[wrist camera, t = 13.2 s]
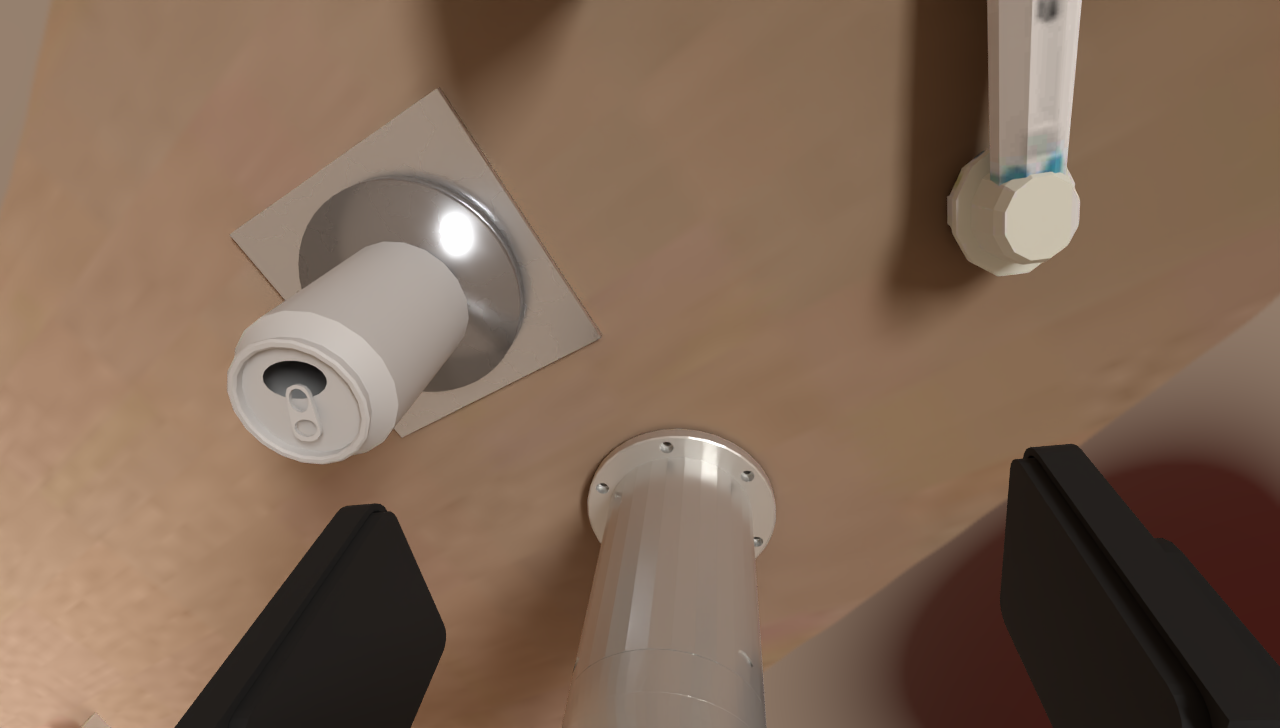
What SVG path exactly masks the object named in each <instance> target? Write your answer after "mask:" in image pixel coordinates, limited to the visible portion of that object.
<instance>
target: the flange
mask: <svg viewBox="0 0 1280 728" xmlns="http://www.w3.org/2000/svg"><path fill="white" fill-rule="evenodd" d="M230 236H231V237H232V238H233V239H234V241H235V242H236V243H237V244H238V245H239V247H240V248H241V249H242V250H243V251H244V252H245V254H246V255H247V256H248V257H249V258H250V259H251V261H252V262H253V263H254V264H255V265H256V267H257V268H258V269H259V270H260V271H261V272H262V274H263V275H264V276H265V277H266V278H267V280H268V281H269V282H270V283H271V284H272V285H273V287H274V288H275V289H276V290H277V291H278V292H279V294H280V295H281V296H282V297H283V298H284V300H285V301H286V300H287V299H288V298H290V297H291V296H293V295H294V294H296V293H297V292H299V291H300V290H302V289H303V288H305V287H306V286H308V285H309V284H311V283H312V282H314V281H315V280H317V279H318V278H320V277H321V276H323V275H324V274H326V273H327V272H329V271H330V270H331V269H333V268H334V267H336V266H337V265H339V264H340V263H342V262H343V261H345V260H346V259H348V258H349V257H351V256H352V255H354V254H355V253H357V252H358V251H360V250H361V249H363V248H364V247H366V246H370V245H373V244H377V243H380V242H403V243H407V244H410V245H413V246H415V247H418V248H421V249H424V250H426V251H427V252H429V253H430V254H432V255H433V256H434V257H436V258H437V259H439V260H440V261H442V262H443V263H444V264H445V265H446V266H447V268H448V269H449V270H450V271H451V272H452V274H453V275H454V276H455V277H456V278H457V280H458V281H459V284H460V286H461V288H462V290H463V292H464V295H465V297H466V299H467V308H468V316H469V319H468V324H467V328H466V332H465V336H464V337H463V339H462V340H461V342H460V343H459V345H458V346H457V348H456V349H455V350H454V352H453V353H452V354H451V355H450V357H449V358H448V359H447V361H446V362H445V363H444V364H443V366H442V367H441V368H440V370H439V371H438V372H437V374H436V375H435V376H434V377H433V379H432V380H431V381H430V383H429V384H428V385H427V386H426V388H425V389H424V390H423V392H422V393H421V394H420V395H419V397H418V398H417V399H416V401H415V402H414V403H413V404H412V406H411V407H410V408H409V410H408V411H407V412H406V413H405V415H404V416H403V417H402V419H401V420H400V421H399V422H398V424H397V425H396V426H395V428H394V429H395V430H396V432H397V433H398V434H399V435H400V436H401V438H402V437H404V436H406V435H408V434H410V433H412V432H414V431H416V430H418V429H420V428H422V427H424V426H426V425H428V424H430V423H432V422H434V421H436V420H438V419H440V418H442V417H444V416H446V415H448V414H450V413H452V412H454V411H456V410H458V409H460V408H462V407H464V406H466V405H468V404H470V403H472V402H474V401H476V400H478V399H480V398H482V397H484V396H486V395H488V394H490V393H492V392H494V391H496V390H498V389H500V388H502V387H504V386H506V385H508V384H510V383H512V382H514V381H516V380H518V379H520V378H522V377H524V376H526V375H528V374H530V373H532V372H534V371H536V370H538V369H540V368H542V367H544V366H546V365H548V364H550V363H552V362H554V361H556V360H558V359H560V358H562V357H564V356H566V355H568V354H570V353H572V352H574V351H576V350H578V349H580V348H582V347H584V346H586V345H588V344H590V343H592V342H594V341H596V340H598V339H600V338H601V337H602V334H601V333H600V331H599V330H598V328H597V327H596V325H595V324H594V322H593V320H592V319H591V317H590V316H589V314H588V313H587V311H586V310H585V308H584V307H583V305H582V304H581V302H580V301H579V299H578V298H577V296H576V295H575V293H574V292H573V290H572V289H571V287H570V285H569V284H568V282H567V281H566V279H565V278H564V276H563V275H562V273H561V272H560V270H559V269H558V267H557V266H556V264H555V263H554V261H553V260H552V258H551V257H550V255H549V253H548V252H547V250H546V249H545V247H544V246H543V244H542V243H541V241H540V240H539V238H538V237H537V235H536V234H535V232H534V231H533V229H532V228H531V226H530V225H529V223H528V221H527V220H526V218H525V217H524V215H523V214H522V212H521V211H520V209H519V208H518V206H517V205H516V203H515V202H514V200H513V199H512V197H511V196H510V194H509V193H508V191H507V190H506V188H505V186H504V185H503V183H502V182H501V180H500V179H499V177H498V176H497V174H496V173H495V171H494V170H493V168H492V167H491V165H490V164H489V162H488V161H487V159H486V158H485V156H484V154H483V153H482V151H481V150H480V148H479V147H478V145H477V144H476V142H475V141H474V139H473V138H472V136H471V135H470V133H469V132H468V130H467V129H466V127H465V126H464V124H463V122H462V121H461V119H460V118H459V116H458V115H457V113H456V112H455V110H454V109H453V107H452V106H451V104H450V103H449V101H448V100H447V98H446V97H445V95H444V94H443V92H442V91H441V89H440V87H439V88H436V89H435V90H434V91H432V92H431V93H429V94H428V95H426V96H425V97H424V98H422V99H421V100H419V101H418V102H417V103H415V104H414V105H412V106H411V107H409V108H408V109H407V110H405V111H404V112H402V113H401V114H400V115H398V116H397V117H395V118H394V119H392V120H391V121H390V122H388V123H387V124H385V125H384V126H383V127H381V128H380V129H378V130H377V131H375V132H374V133H373V134H371V135H370V136H368V137H367V138H366V139H364V140H363V141H361V142H360V143H358V144H357V145H356V146H354V147H353V148H351V149H350V150H349V151H347V152H346V153H344V154H343V155H341V156H340V157H339V158H337V159H336V160H334V161H333V162H332V163H330V164H329V165H327V166H326V167H325V168H323V169H322V170H320V171H319V172H317V173H316V174H315V175H313V176H312V177H310V178H309V179H308V180H306V181H305V182H303V183H302V184H300V185H299V186H298V187H296V188H295V189H293V190H292V191H291V192H289V193H288V194H286V195H285V196H283V197H282V198H281V199H279V200H278V201H276V202H275V203H274V204H272V205H271V206H269V207H268V208H266V209H265V210H264V211H262V212H261V213H259V214H258V215H257V216H255V217H254V218H252V219H251V220H249V221H248V222H247V223H245V224H244V225H242V226H241V227H240V228H238V229H237V230H235V231H234V232H232V233H231V234H230Z"/></svg>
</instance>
